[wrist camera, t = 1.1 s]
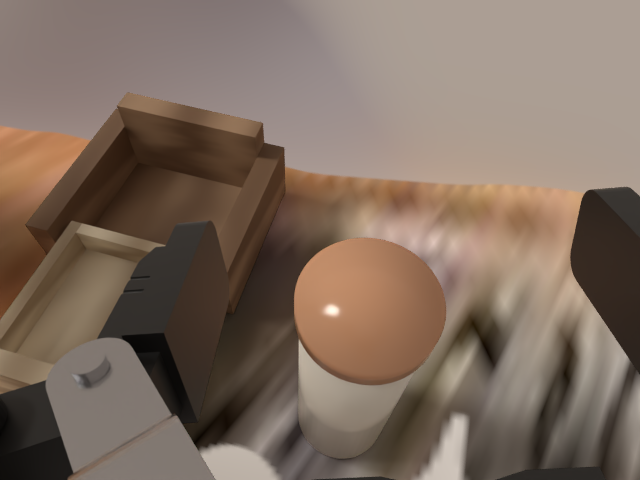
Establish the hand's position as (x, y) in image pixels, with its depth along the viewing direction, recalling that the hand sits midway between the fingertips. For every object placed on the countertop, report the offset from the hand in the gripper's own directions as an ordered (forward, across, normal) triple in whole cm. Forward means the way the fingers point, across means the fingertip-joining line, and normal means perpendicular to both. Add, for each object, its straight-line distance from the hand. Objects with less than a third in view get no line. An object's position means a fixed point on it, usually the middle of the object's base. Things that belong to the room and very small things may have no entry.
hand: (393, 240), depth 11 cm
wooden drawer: (+15, +17, +16) cm, 28 cm away
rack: (+24, +15, +13) cm, 31 cm away
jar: (+11, +3, +20) cm, 23 cm away
